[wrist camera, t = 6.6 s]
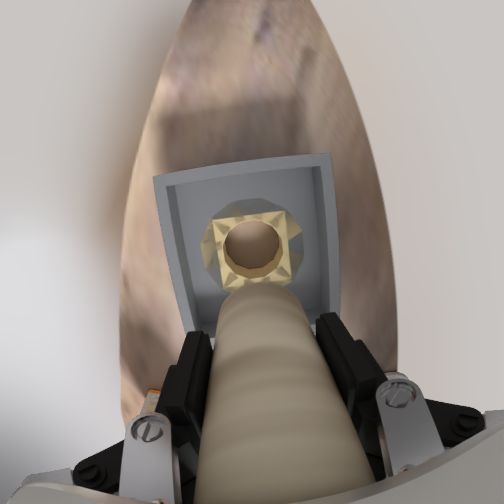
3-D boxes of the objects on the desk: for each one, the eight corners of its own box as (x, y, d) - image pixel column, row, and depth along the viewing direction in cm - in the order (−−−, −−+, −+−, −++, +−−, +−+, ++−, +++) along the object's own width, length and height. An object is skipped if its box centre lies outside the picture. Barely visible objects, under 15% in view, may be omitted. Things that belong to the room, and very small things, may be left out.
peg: (305, 348, 13) (367, 536, 3) (226, 359, 13) (216, 556, 3) (301, 275, 12) (415, 488, 2) (210, 288, 12) (157, 523, 2)
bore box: (323, 302, 30) (339, 328, 24) (198, 319, 30) (189, 348, 24) (312, 158, 26) (330, 152, 20) (171, 177, 26) (152, 176, 20)
